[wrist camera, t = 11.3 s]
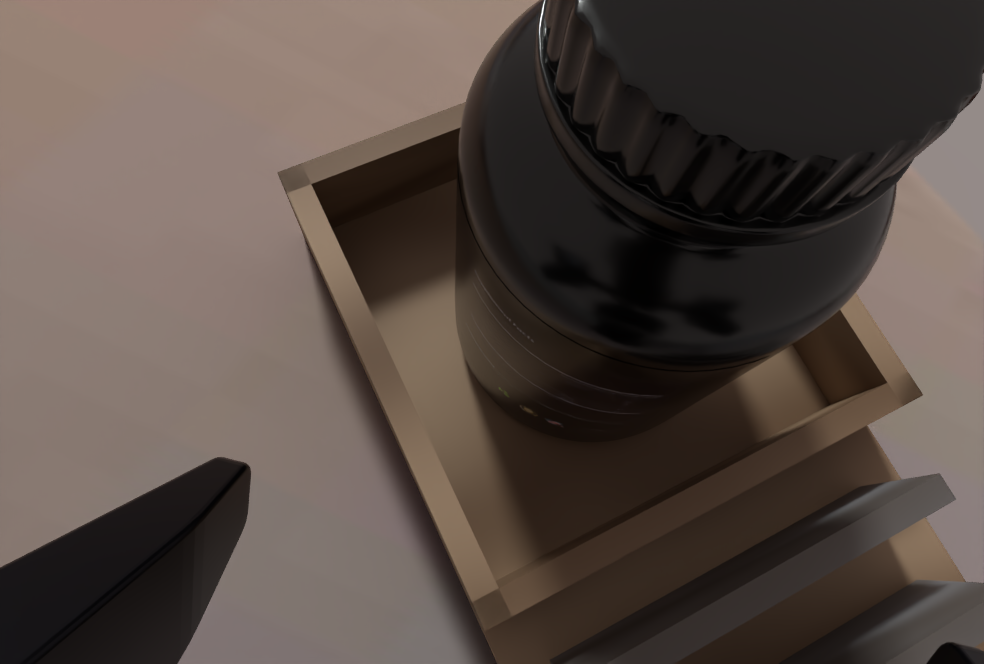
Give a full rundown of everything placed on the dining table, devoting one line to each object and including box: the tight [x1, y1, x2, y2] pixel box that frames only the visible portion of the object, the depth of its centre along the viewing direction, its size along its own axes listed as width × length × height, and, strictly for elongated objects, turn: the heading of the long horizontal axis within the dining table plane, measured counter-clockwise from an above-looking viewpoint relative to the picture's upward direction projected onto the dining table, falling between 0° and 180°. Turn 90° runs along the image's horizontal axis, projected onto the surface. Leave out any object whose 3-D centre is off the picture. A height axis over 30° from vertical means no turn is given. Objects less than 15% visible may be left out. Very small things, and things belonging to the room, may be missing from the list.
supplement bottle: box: [455, 0, 984, 442], centre depth 13 cm, size 7×7×12 cm
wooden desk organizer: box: [277, 102, 984, 664], centre depth 17 cm, size 20×11×4 cm, turn 26°
